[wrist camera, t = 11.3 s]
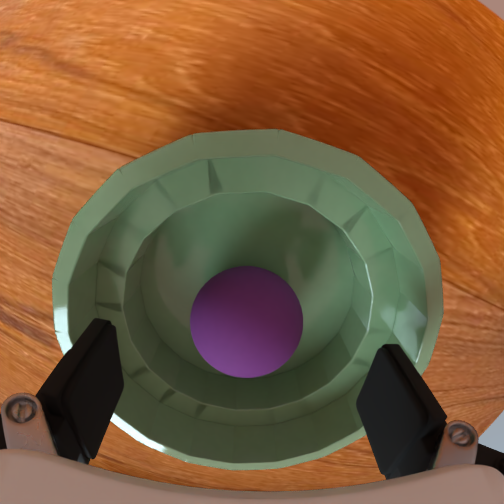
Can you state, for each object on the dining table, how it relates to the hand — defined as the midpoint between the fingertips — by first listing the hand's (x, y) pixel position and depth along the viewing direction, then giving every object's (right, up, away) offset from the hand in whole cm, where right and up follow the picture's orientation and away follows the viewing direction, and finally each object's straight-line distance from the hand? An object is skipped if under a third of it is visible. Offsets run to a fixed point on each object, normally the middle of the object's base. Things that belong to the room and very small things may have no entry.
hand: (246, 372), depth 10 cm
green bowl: (0, +2, +6) cm, 7 cm away
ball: (0, +2, +6) cm, 6 cm away
